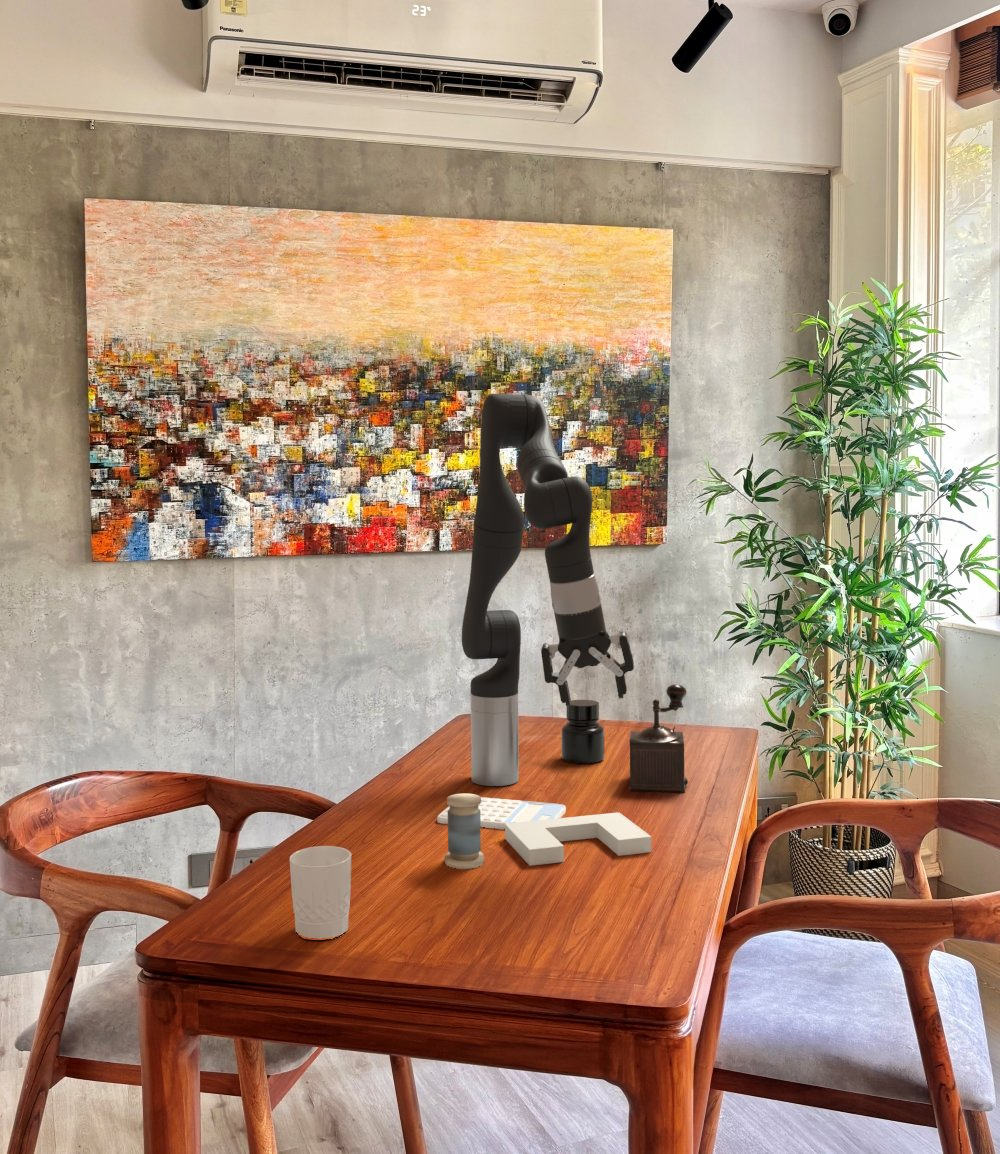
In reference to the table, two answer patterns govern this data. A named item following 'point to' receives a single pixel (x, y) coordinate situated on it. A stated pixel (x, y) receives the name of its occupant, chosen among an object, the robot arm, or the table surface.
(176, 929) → the table surface
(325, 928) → the white cup
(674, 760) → the manual coffee grinder
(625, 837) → the notched board
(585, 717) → the ink bottle
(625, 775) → the table surface
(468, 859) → the disc
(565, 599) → the robot arm
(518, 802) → the calculator
